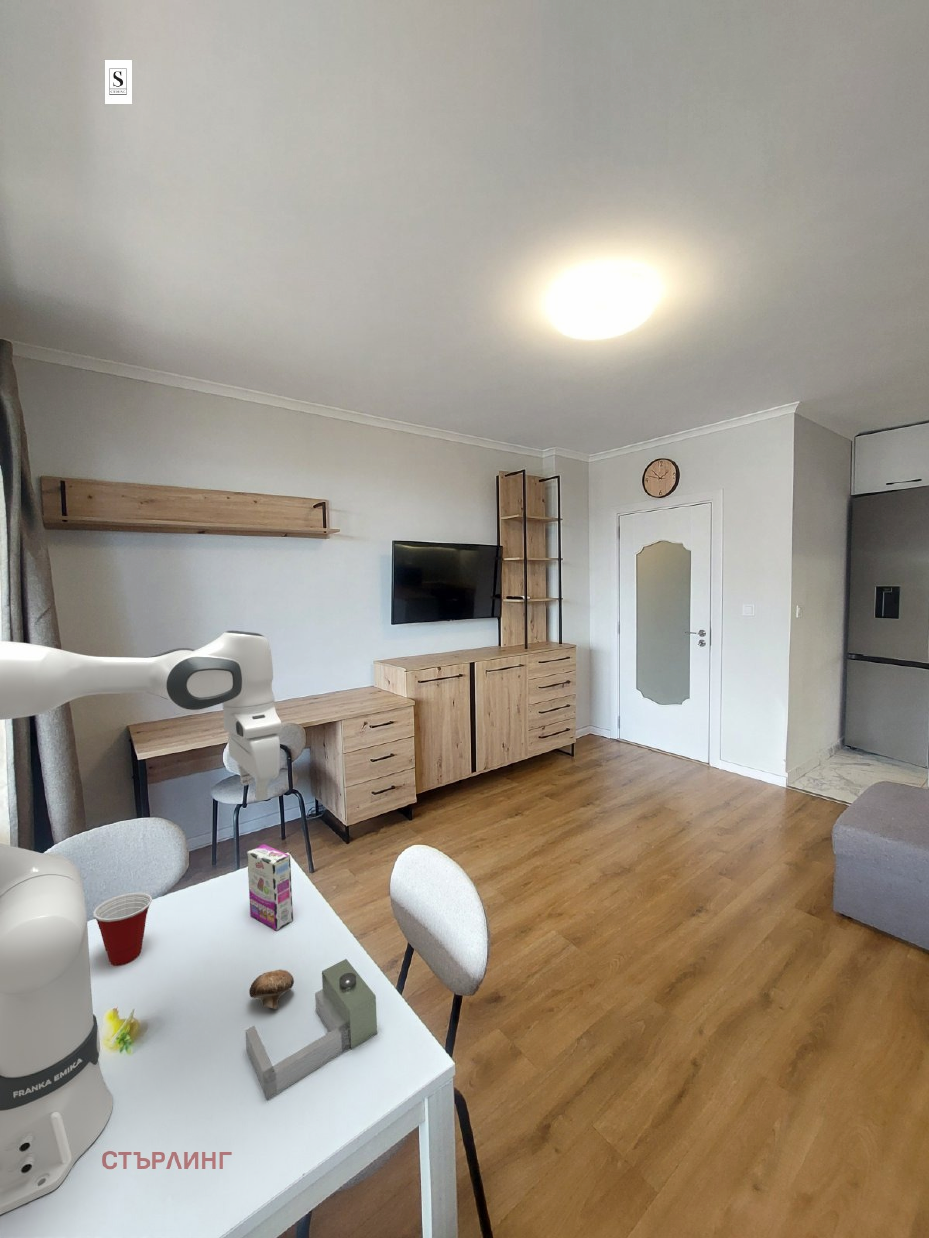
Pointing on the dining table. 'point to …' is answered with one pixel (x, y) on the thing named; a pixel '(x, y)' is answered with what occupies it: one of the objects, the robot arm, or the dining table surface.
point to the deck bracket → (344, 1015)
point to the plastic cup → (123, 926)
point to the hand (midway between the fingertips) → (253, 791)
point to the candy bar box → (270, 886)
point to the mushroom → (271, 987)
